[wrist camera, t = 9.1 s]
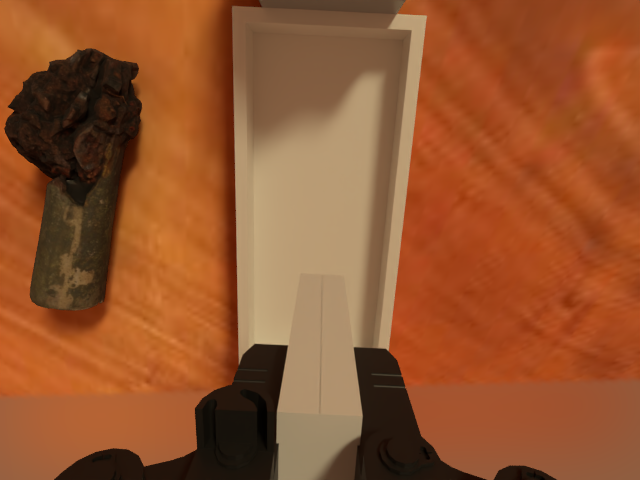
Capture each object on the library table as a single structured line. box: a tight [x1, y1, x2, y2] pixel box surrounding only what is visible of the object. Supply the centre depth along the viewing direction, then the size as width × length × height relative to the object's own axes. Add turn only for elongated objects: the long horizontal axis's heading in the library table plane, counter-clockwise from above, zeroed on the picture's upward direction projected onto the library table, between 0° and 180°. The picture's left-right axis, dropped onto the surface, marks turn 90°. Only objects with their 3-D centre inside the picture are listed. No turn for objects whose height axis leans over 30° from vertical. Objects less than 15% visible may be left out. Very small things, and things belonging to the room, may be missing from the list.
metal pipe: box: [4, 48, 142, 310], centre depth 25 cm, size 18×7×6 cm, turn 161°
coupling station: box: [232, 0, 427, 364], centre depth 23 cm, size 12×33×11 cm, turn 177°
